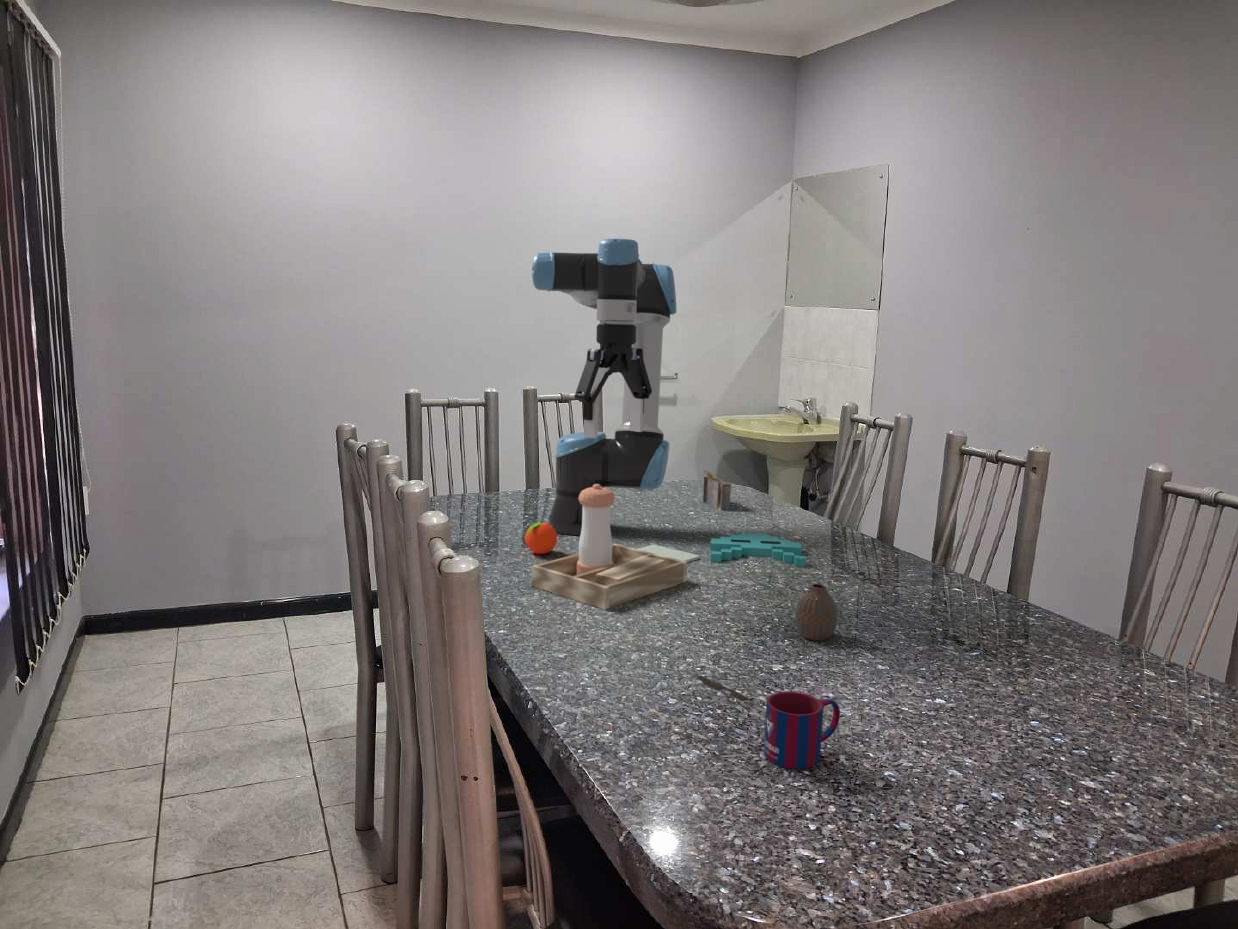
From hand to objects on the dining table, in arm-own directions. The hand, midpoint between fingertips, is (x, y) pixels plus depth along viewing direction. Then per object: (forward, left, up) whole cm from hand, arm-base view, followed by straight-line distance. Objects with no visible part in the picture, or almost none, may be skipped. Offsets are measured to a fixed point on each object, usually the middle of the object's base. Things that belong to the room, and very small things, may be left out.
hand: (613, 434), depth 174 cm
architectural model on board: (-24, +70, -30) cm, 80 cm away
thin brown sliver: (+46, -28, -29) cm, 62 cm away
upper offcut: (+8, -3, -27) cm, 28 cm away
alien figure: (+9, +38, -30) cm, 49 cm away
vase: (+45, 0, -29) cm, 54 cm away
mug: (+64, -37, -29) cm, 80 cm away
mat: (-3, +18, -29) cm, 34 cm away
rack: (+2, -3, -29) cm, 29 cm away
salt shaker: (-2, -3, -29) cm, 29 cm away
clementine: (-23, +2, -29) cm, 37 cm away
